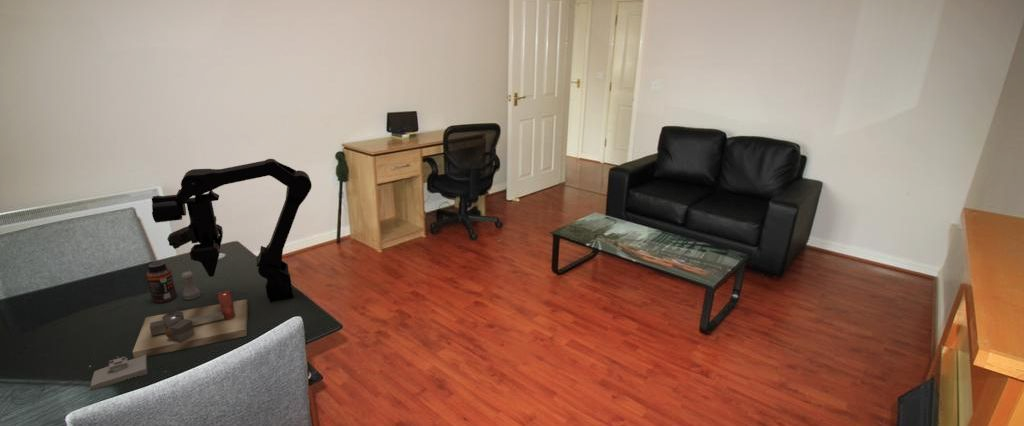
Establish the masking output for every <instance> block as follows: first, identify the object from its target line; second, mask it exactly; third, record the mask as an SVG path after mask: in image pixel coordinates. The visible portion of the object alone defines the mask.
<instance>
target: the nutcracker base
mask: <svg viewBox="0 0 1024 426" xmlns="http://www.w3.org/2000/svg"><path fill="white" fill-rule="evenodd" d="M233 306H234V311H235V316H234V317H232V318H230V319H221V320H217V321H212V322H208V323H204V324H199V325H195V326H193V324H192V320H187V319H191V318H196V317H200V316H205V315H209V314H214V313H218V312H221V308H220V303H217V304H211V305H207V306H201V307H197V308H196V307H195V308H190V309H185V310H180V311H181V312H183V315H184V319H183V320H181V321H180V322H178V323H176V324H175V325H173V326H171V327H169V328H168V329H167V330H166V332H165V333H161V334H157V335H151V331H150V323H151V322H156V321H161V320H163V319H162V318H163V316H164V315H166V314H168V313H169V312H168V313H164V314H163V313H161V314H157V315H156V314H155V315H151V316H145V319H144V321H143V324H142V326H141V329H140V331H139V334H138V337H137V339H136V342H135V345H134V347H133V350H132V355H133V359H135V358H138V357H141V356H143V355H147V358H148V357H151V356H157V355H162V354H167V353H171V352H175V351H179V350H180V351H181V350H186V349H191V348H195V347H201V346H204V345H210V344H213V343H220V342H224V341H228V340H233V339H238V338H242V337H247V336H248V335H247V334H248V311H249V310H248V309H249V305H248V299H240V300H235V301H233Z"/></svg>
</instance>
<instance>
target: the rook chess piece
mask: <svg viewBox="0 0 1024 426" xmlns="http://www.w3.org/2000/svg"><path fill="white" fill-rule="evenodd" d="M194 275H195V274H194V273H193V271H191V270H188V271H184V272H181V276H180V278H181V279H182V283H183V287H184V288H183V292H182V298H183V300H185V301H192V300H196V299H197V298H199V297H200V296H201V292H200V289H199V288H198V287H197V286H196V284H195V281H194V280H195V279H194Z"/></svg>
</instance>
